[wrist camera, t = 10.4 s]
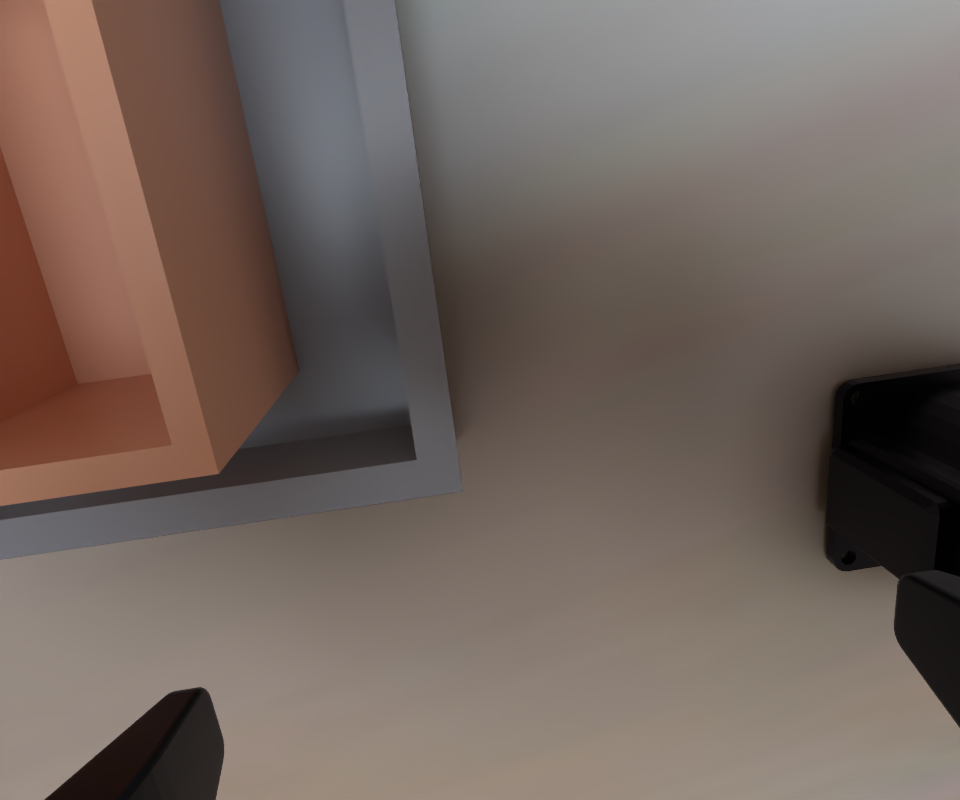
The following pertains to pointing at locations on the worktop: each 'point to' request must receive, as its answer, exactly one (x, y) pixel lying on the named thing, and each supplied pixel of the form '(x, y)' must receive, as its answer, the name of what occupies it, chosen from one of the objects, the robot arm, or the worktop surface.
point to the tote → (129, 250)
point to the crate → (313, 295)
